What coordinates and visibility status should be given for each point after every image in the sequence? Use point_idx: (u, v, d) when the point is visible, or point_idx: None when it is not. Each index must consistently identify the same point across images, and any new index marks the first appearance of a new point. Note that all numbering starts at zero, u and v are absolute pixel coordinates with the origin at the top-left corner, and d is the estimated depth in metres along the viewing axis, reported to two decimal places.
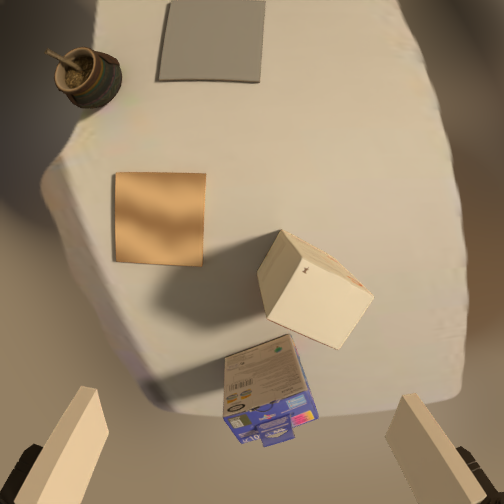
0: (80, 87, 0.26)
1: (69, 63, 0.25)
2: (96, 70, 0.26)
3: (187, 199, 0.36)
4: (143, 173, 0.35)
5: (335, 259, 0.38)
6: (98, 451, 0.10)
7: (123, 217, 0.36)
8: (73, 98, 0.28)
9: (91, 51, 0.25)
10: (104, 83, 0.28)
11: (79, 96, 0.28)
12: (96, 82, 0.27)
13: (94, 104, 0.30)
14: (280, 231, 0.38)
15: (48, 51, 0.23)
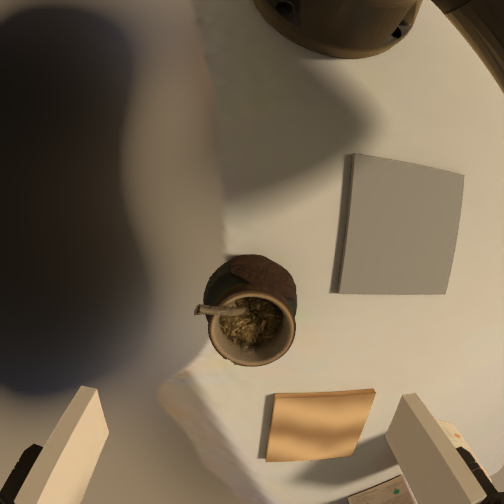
0: (268, 363, 0.20)
1: (235, 314, 0.20)
2: None
3: (353, 414, 0.31)
4: (310, 398, 0.30)
5: (455, 428, 0.32)
6: (98, 451, 0.10)
7: (280, 433, 0.31)
8: None
9: (284, 307, 0.19)
10: None
11: None
12: None
13: None
14: None
15: (202, 310, 0.17)
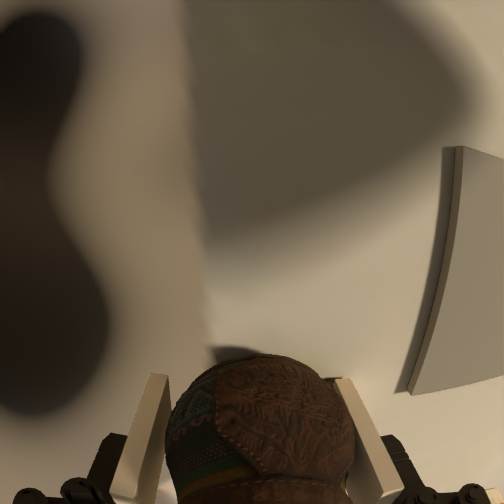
0: None
1: None
2: None
3: None
4: None
5: (499, 494, 0.19)
6: None
7: None
8: None
9: None
10: None
11: None
12: None
13: None
14: None
15: None
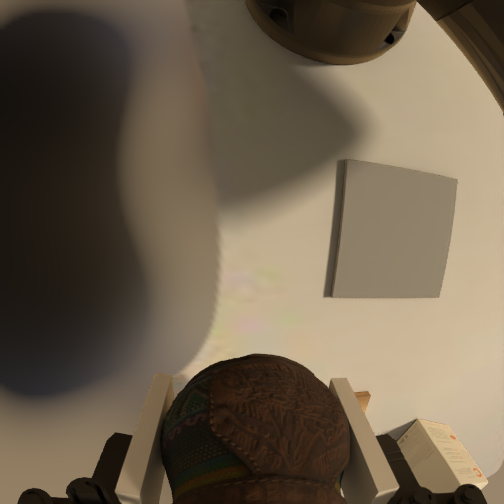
0: None
1: None
2: None
3: None
4: None
5: (450, 430, 0.33)
6: None
7: None
8: None
9: None
10: None
11: None
12: None
13: None
14: (418, 422, 0.32)
15: None
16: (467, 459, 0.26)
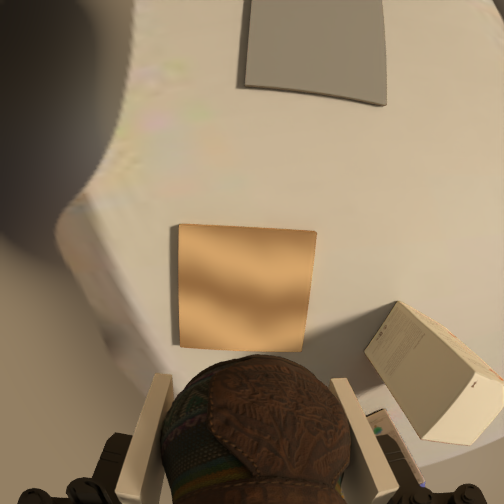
0: None
1: None
2: None
3: (289, 268, 0.26)
4: (224, 229, 0.25)
5: (448, 330, 0.28)
6: None
7: (191, 290, 0.26)
8: None
9: None
10: None
11: None
12: None
13: None
14: (399, 304, 0.27)
15: None
16: (478, 358, 0.21)
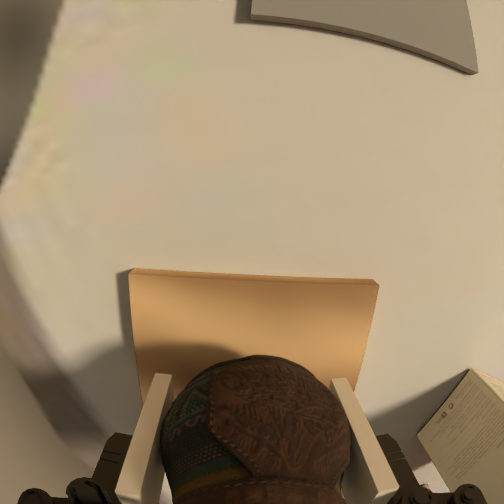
0: None
1: None
2: None
3: (329, 345, 0.14)
4: (211, 281, 0.13)
5: None
6: None
7: None
8: None
9: None
10: None
11: None
12: None
13: None
14: (473, 375, 0.16)
15: None
16: None
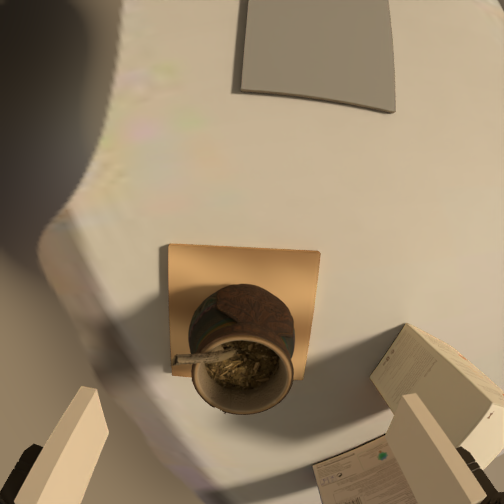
0: (262, 411, 0.17)
1: (223, 359, 0.16)
2: None
3: (291, 292, 0.23)
4: (218, 249, 0.23)
5: None
6: (98, 451, 0.10)
7: (183, 316, 0.23)
8: None
9: (279, 351, 0.16)
10: None
11: None
12: None
13: None
14: (407, 327, 0.25)
15: (180, 361, 0.14)
16: (490, 382, 0.19)
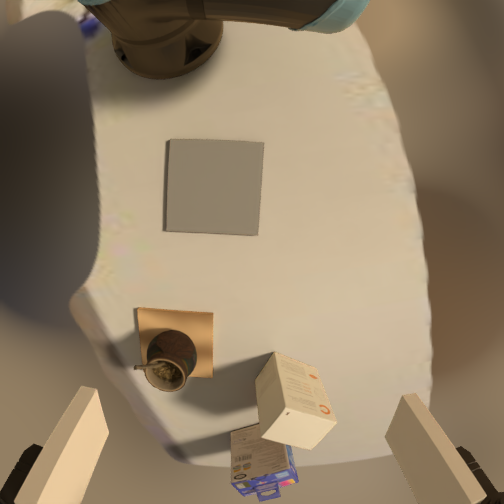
0: (175, 390, 0.38)
1: (156, 367, 0.37)
2: (186, 378, 0.38)
3: (199, 333, 0.44)
4: (161, 312, 0.43)
5: (316, 372, 0.46)
6: (98, 451, 0.10)
7: (147, 342, 0.44)
8: None
9: (177, 365, 0.37)
10: (189, 373, 0.40)
11: None
12: None
13: None
14: (273, 354, 0.46)
15: (137, 367, 0.35)
16: (318, 396, 0.39)
